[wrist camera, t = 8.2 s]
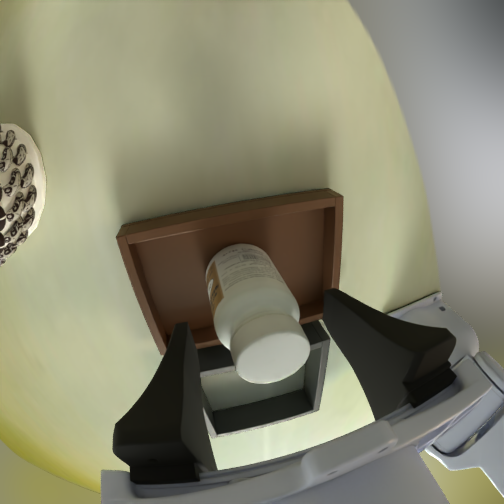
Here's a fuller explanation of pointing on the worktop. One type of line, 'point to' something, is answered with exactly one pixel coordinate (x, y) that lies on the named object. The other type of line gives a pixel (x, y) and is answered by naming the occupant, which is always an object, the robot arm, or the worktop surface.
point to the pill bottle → (255, 314)
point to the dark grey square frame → (270, 409)
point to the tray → (221, 236)
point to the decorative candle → (19, 188)
